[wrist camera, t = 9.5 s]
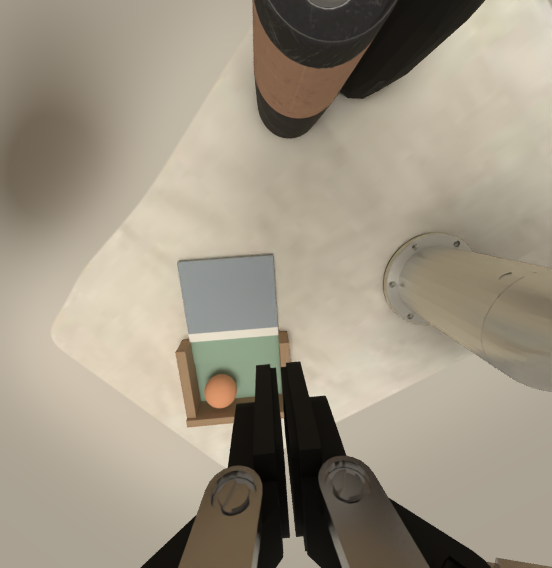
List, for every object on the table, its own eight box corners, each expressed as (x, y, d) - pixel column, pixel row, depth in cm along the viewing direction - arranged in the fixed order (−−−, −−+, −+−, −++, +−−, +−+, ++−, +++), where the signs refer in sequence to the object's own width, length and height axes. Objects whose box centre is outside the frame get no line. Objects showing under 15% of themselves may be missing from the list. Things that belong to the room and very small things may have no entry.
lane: (281, 253, 36) (284, 258, 32) (290, 398, 42) (293, 417, 38) (169, 261, 36) (158, 268, 32) (194, 406, 42) (187, 427, 38)
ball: (236, 366, 40) (226, 380, 36) (243, 396, 40) (234, 412, 36) (208, 371, 41) (195, 385, 36) (215, 399, 41) (203, 416, 37)
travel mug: (263, 147, 33) (270, 63, 14) (247, 73, 31) (228, -151, 12) (327, 133, 33) (423, 27, 14) (315, 57, 31) (409, -193, 12)
